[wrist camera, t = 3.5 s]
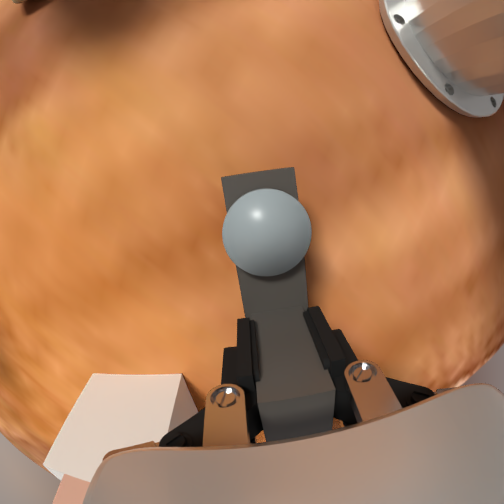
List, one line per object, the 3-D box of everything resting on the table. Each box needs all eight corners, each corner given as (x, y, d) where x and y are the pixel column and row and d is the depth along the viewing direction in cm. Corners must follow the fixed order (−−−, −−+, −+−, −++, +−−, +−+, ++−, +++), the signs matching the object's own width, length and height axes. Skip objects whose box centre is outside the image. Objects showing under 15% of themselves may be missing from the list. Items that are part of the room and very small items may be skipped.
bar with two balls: (288, 167, 14) (354, 165, 5) (307, 383, 18) (334, 483, 10) (220, 176, 14) (186, 187, 5) (259, 391, 18) (267, 495, 10)
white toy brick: (181, 373, 18) (147, 535, 6) (227, 470, 22) (227, 564, 10) (93, 373, 18) (30, 491, 6) (160, 468, 22) (145, 553, 10)
